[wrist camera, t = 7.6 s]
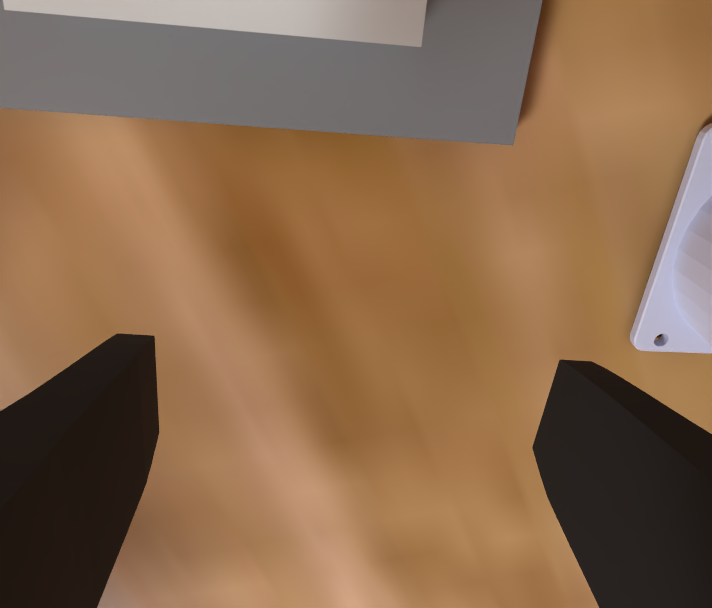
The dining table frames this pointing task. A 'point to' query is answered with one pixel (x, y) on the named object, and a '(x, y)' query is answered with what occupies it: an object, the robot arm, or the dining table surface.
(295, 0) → the outlet plate
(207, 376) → the dining table surface
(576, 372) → the robot arm
